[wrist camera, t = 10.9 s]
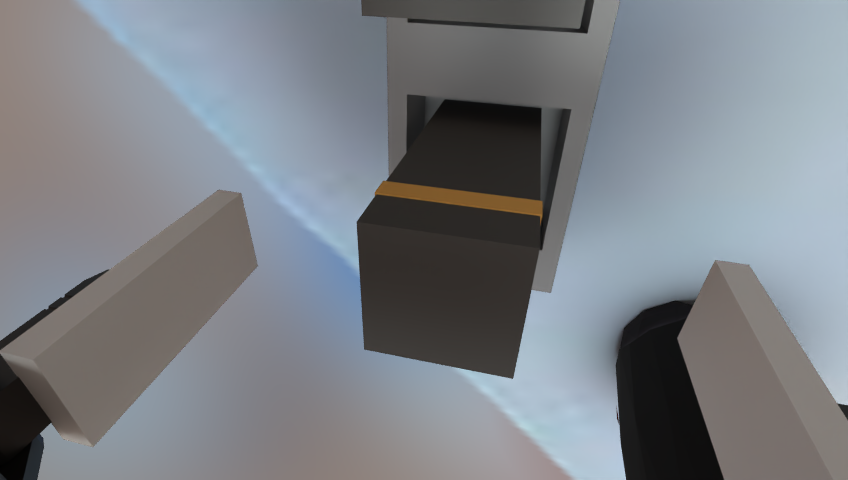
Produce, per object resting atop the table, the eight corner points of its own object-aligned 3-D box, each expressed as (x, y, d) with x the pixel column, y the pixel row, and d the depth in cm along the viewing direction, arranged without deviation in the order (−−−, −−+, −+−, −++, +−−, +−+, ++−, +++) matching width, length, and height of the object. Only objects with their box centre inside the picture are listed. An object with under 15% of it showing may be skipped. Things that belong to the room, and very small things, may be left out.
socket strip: (420, -269, 15) (202, -675, 6) (664, -283, 14) (949, -856, 4) (411, 223, 26) (332, 382, 16) (549, 243, 25) (553, 429, 15)
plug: (443, 98, 21) (354, 220, 11) (542, 107, 20) (542, 247, 10) (439, 186, 23) (362, 350, 14) (527, 197, 23) (514, 380, 13)
